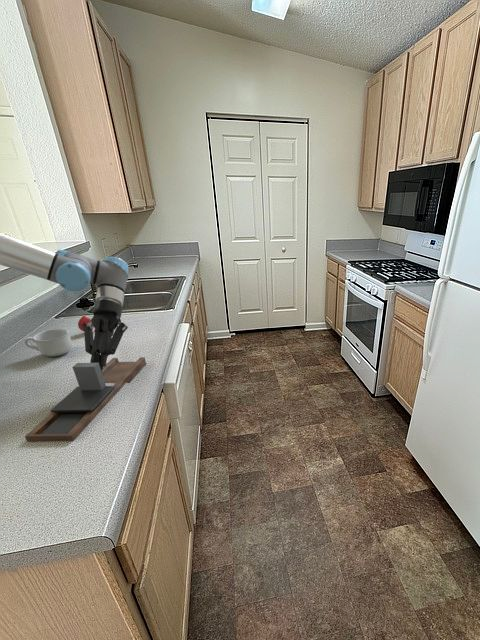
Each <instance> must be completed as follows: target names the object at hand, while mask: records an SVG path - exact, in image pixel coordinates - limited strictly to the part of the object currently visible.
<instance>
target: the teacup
mask: <svg viewBox="0 0 480 640" xmlns="http://www.w3.org/2000/svg"><path fill="white" fill-rule="evenodd" d="M69 333H70V332H69V330H68V329H66V328H51V329H45V330H43V331H41V332H40V331H39V332H38V333H36V334H35V335H34V336H27V337H26V338H25V339H24V344H25V346H26V347H28V348H30V349H32V350H36V351H38V352H39V353H40V354H42V355H44V356H47V357H51V358H54V357H55V358H56V357H60V356H63V355H66V354H67V353H68V352H69V351H70V350H71V348H72V346H73V343H72V339H71V336H70V334H69ZM30 340H31V341H32V342H34V344H35V345H33V344H31V343H29V341H30Z"/></svg>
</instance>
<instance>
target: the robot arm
mask: <svg viewBox="0 0 480 640" xmlns="http://www.w3.org/2000/svg"><path fill="white" fill-rule="evenodd" d="M0 266H3V267H5V268H9V269H12V270H15V271H19V272H22V273H24V274H28V275H31V276H34V277H37V278H41V279H44V280H47V281H49V282H52V283H55V284H58V285H59V286H60V287H61V288H62V289H65V290H66V291H69V292H81V291H84V290H85V289H86V288H87V287H88V286H89V285H90V284H92V285H97V286H98V287H97V291H96V295H95V301H94V306H93V311H92V314H93V316H92V318H90V319H91V322H89V323H87V324H86V323H83V324H82V327H83V329H84V331H83V333H84V348H85V349H84V350H85V351H84V352H85V353H87V354H89V355H91V357H90V362H89V363H99V365H100V368H101V371H102V369H103V366H106V364H107V361H108V357H109V356H110V355H115V354H116V352H117V350H118V347H119V344H120V342H121V340H122V338H123V335H124V333H125V332H126V331H127V330H128V328H129V327H128V325H127V324H125V323H124V322H122V319H121V318H122V313H123V305H124V300H125V295H126V289H127V284H128V278H129V269H130V268H129V267H130V266H129V265H128V263H127V262H126V261H125V260H124V259H122V258H120V257H116V256H106V257H105V258H104V259H103V260H98V259H95V258H91V257H88V256H85V255H81V254H80V253H79V254H78V253H75V252H74V251H70V250H64V249H58V250H56V251H55V252H54V251H51V250H48V249H47V248H46V249H45V248H43V247H40V246H39V245H38V246H37V245H35V244H33V243H30V242H27V241H24V240H21V239H18V238H16V237H14V236H11V235H9V234H8V235H7V234H5V233H2V232H0ZM93 326H94V328H93Z"/></svg>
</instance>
